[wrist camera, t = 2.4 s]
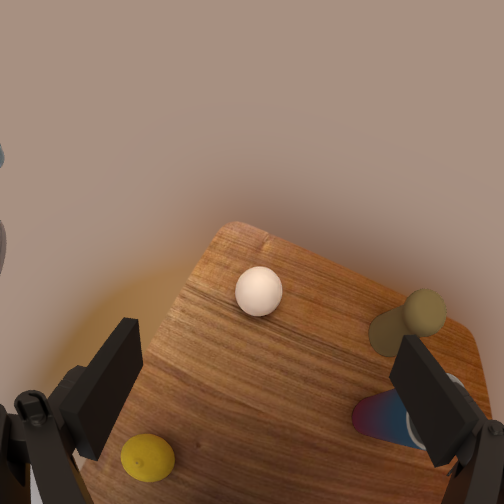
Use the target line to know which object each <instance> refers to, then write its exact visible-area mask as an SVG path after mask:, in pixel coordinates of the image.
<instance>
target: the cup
mask: <svg viewBox="0 0 504 504" xmlns="http://www.w3.org/2000/svg"><path fill="white" fill-rule="evenodd" d="M446 374H447V375H448V376H449V378H450V379H451V380H452V382H457V383H459V384H460V385H462V386H463V387H464V385H463V384H462V383H461V381H460V380H459V379H458V378H456V377H455V376H453V375H451V374H449V373H446ZM464 388H465V387H464ZM352 421H353V425H354V427H355V429H356V430H357V431H358V432H360V433H361V434H364V435H367V436H370V437H374V438H377V439H381V440H385V441H388V442H392V443H396V444H400V445H404V446H408V447H412V448H417V449H421V450H426V448H425V446H424V444H423V442H422V440H421V438H420V436H419V434H418V432H417V430H416V428H415V426H414V424H413V422H412V420H411V418H410V416H409V414H408V412H407V410H406V408H405V406H404V405H403V403H402V401H401V399H400V397H399V395H398V393H397V391H396V389H392V390H389V391H386V392H383V393H380V394H377V395H374V396H370V397H367V398H365V399H363V400H361V401H360V402H359V403H358V404H357V405H356V407H355V409H354V411H353V415H352ZM426 451H427V450H426Z"/></svg>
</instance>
